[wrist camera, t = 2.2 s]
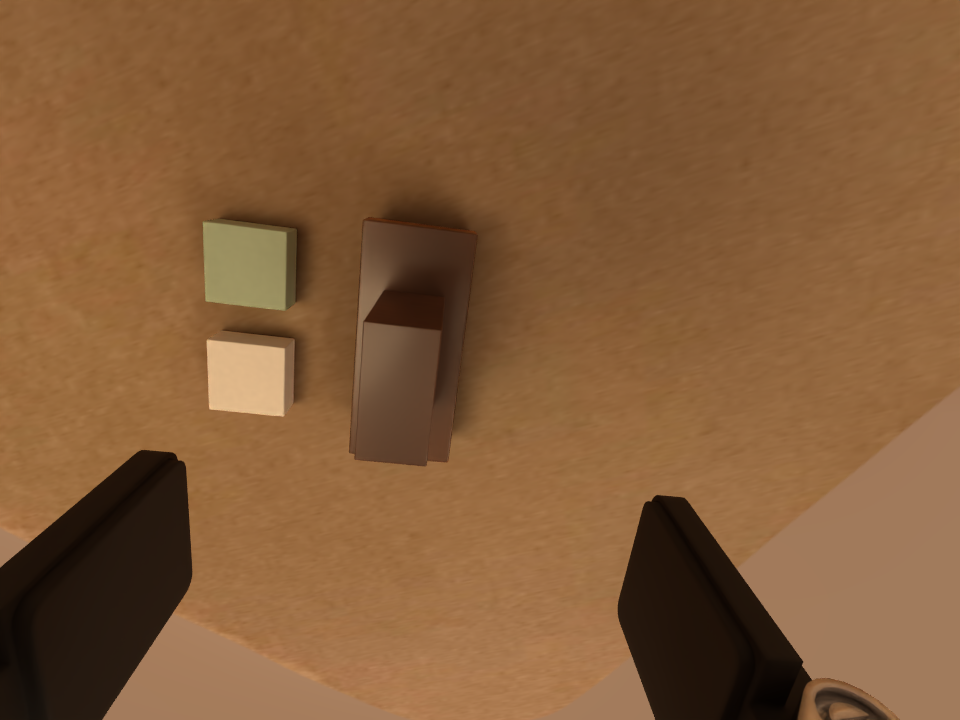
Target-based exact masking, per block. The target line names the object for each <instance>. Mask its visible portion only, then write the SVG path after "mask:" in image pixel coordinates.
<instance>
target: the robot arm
mask: <svg viewBox="0 0 960 720" xmlns="http://www.w3.org/2000/svg"><path fill="white" fill-rule="evenodd" d="M191 579H192V557H191V541H190V525H189V509H188V493H187V477H186V466H185V463H184V462H183V461H178V459H177V456H176V454H174V453H172V452H160V451H149V450H141V451H139V452H137V453H136V454H135V455H133V456H132V457H131V458H130V459H129V460H128V461H126V462H125V463H124V464H123V465H122V466H120V467H119V468H118V469H117V470H116V471H114V472H113V473H112V474H111V475H110V476H109V477H107V478H106V479H105V480H104V481H103V482H101V483H100V484H99V485H98V486H97V487H95V488H94V489H93V490H92V491H91V492H90V493H88V494H87V495H86V496H85V497H84V498H82V499H81V500H80V501H79V502H78V503H76V504H75V505H74V506H73V507H72V508H70V509H69V510H68V511H67V512H66V513H65V514H63V515H62V516H61V517H60V518H59V519H57V520H56V521H55V522H54V523H53V524H51V525H50V526H49V527H48V528H47V529H46V530H44V531H43V532H42V533H41V534H40V535H38V536H37V537H36V538H35V539H34V540H32V541H31V542H30V543H29V544H28V545H27V546H25V547H24V548H23V549H22V550H21V551H19V552H18V553H17V554H16V555H15V556H13V557H12V558H11V559H10V560H9V561H7V562H6V563H5V564H4V565H3V566H2V567H1V568H0V720H102V719H103V717H104V716H105V714H106V713H107V711H108V710H109V708H110V707H111V705H112V704H113V702H114V701H115V699H116V698H117V696H118V695H119V693H120V692H121V690H122V689H123V687H124V686H125V684H126V683H127V681H128V680H129V678H130V677H131V675H132V674H133V672H134V671H135V669H136V668H137V666H138V665H139V663H140V662H141V660H142V659H143V657H144V655H145V654H146V653H147V651H148V650H149V648H150V647H151V645H152V644H153V642H154V640H155V639H156V637H157V636H158V634H159V633H160V631H161V630H162V628H163V627H164V625H165V624H166V622H167V621H168V619H169V618H170V616H171V615H172V613H173V612H174V610H175V609H176V607H177V606H178V604H179V603H180V601H181V600H182V598H183V597H184V595H185V594H186V592H187V590H188V588H189V586H190V583H191ZM618 618H619V622H620V625H621V627H622V630H623V633H624V635H625V638H626V641H627V644H628V646H629V649H630V652H631V654H632V657H633V660H634V663H635V665H636V668H637V671H638V674H639V676H640V679H641V682H642V684H643V687H644V690H645V692H646V695H647V698H648V701H649V703H650V706H651V709H652V711H653V714H654V717H655V720H900V719H899V718H898V717H897V716H896V715H895V714H894V713H893V712H892V711H890V710H889V709H888V708H887V707H886V706H885V705H883V704H882V703H881V702H880V701H879V700H877V699H875V698H874V697H872V696H871V695H869V694H868V693H866V692H864V691H863V690H861V689H859V688H857V687H854V686H852V685H850V684H848V683H845V682H842V681H838V680H834V679H830V678H822V679H821V678H820V679H815V680H813V681H812V679H811V678H810V676H809V675H808V674H807V672H806V671H805V669H804V668H803V667H802V663H803V661H802V659H801V658H800V657H799V655H798V654H797V652H796V651H795V650H794V648H793V647H792V645H791V644H790V643H789V641H788V640H787V639H786V637H785V636H784V634H783V633H782V632H781V630H780V629H779V627H778V626H777V625H776V623H775V622H774V620H773V619H772V618H771V616H770V615H769V614H768V612H767V611H766V610H765V608H764V607H763V605H762V604H761V602H760V601H759V600H758V598H757V597H756V596H755V594H754V593H753V591H752V590H751V589H750V587H749V586H748V584H747V583H746V582H745V580H744V579H743V577H742V576H741V575H740V573H739V572H738V570H737V569H736V568H735V566H734V565H733V564H732V562H731V561H730V559H729V558H728V557H727V555H726V554H725V552H724V551H723V550H722V548H721V547H720V546H719V544H718V543H717V541H716V540H715V539H714V537H713V536H712V534H711V533H710V532H709V530H708V529H707V527H706V526H705V525H704V523H703V522H702V521H701V519H700V518H699V516H698V515H697V514H696V512H695V511H694V509H693V508H692V507H691V505H690V504H689V503H688V501H687V500H686V499H685V498H682V497H673V496H661V495H657V496H655V497H654V498H653V499H652V502H650V501H647V502H646V503H645V504H644V506H643V510H642V514H641V517H640V521H639V525H638V529H637V533H636V536H635V540H634V544H633V548H632V552H631V555H630V559H629V563H628V567H627V571H626V574H625V578H624V582H623V586H622V590H621V593H620V597H619V601H618Z"/></svg>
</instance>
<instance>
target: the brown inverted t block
mask: <svg viewBox="0 0 960 720" xmlns="http://www.w3.org/2000/svg"><path fill="white" fill-rule="evenodd" d="M476 243H477V233H476V232H475V231H469V230H462V229H454V228H447V227H440V226H432V225H425V224H417V223H410V222H402V221H395V220H387V219H380V218H372V217H368V218H366V219H364V220H363V230H362V246H361V263H360V280H359V296H358V313H357V329H356V346H355V362H354V379H353V395H352V412H351V428H350V445H349V453H353V454H355V460H363V461H374V462H385V463H395V464H406V465H417V466H426V465H427V461H437V462H448V459H449V451H450V444H451V436H452V428H453V420H454V413H455V405H456V397H457V390H458V382H459V374H460V367H461V359H462V351H463V343H464V336H465V328H466V320H467V313H468V305H469V297H470V289H471V282H472V274H473V266H474V259H475V251H476Z"/></svg>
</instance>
